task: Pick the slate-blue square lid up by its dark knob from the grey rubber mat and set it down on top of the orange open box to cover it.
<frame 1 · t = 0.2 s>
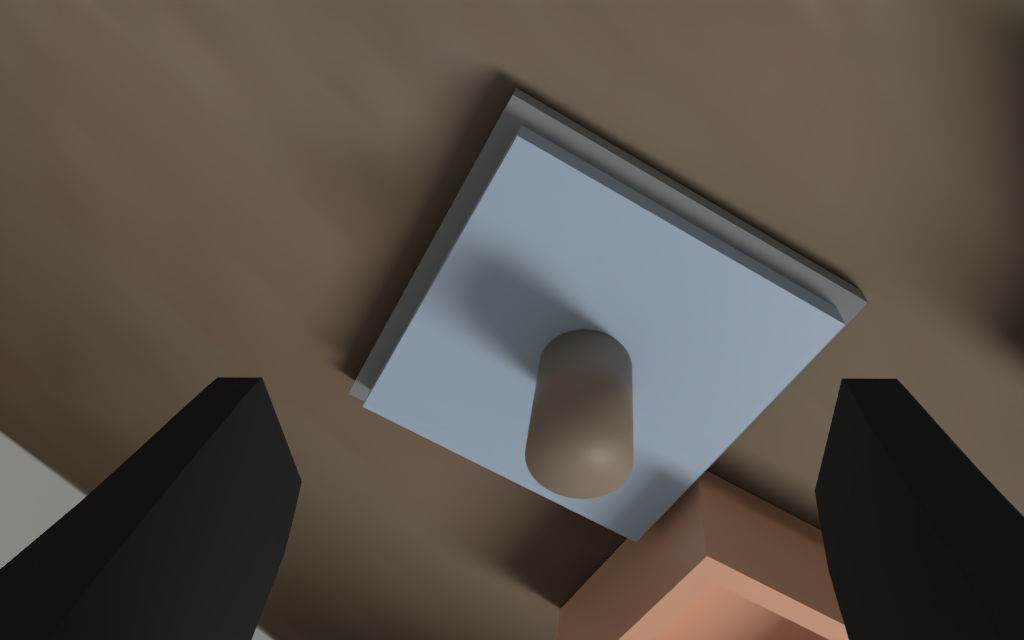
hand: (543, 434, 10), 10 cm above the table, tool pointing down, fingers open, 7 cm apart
orange open box: (725, 593, 26), on the table
lid: (586, 351, 21), point 1 cm above the table, touching mat
mat: (587, 339, 21), on the table
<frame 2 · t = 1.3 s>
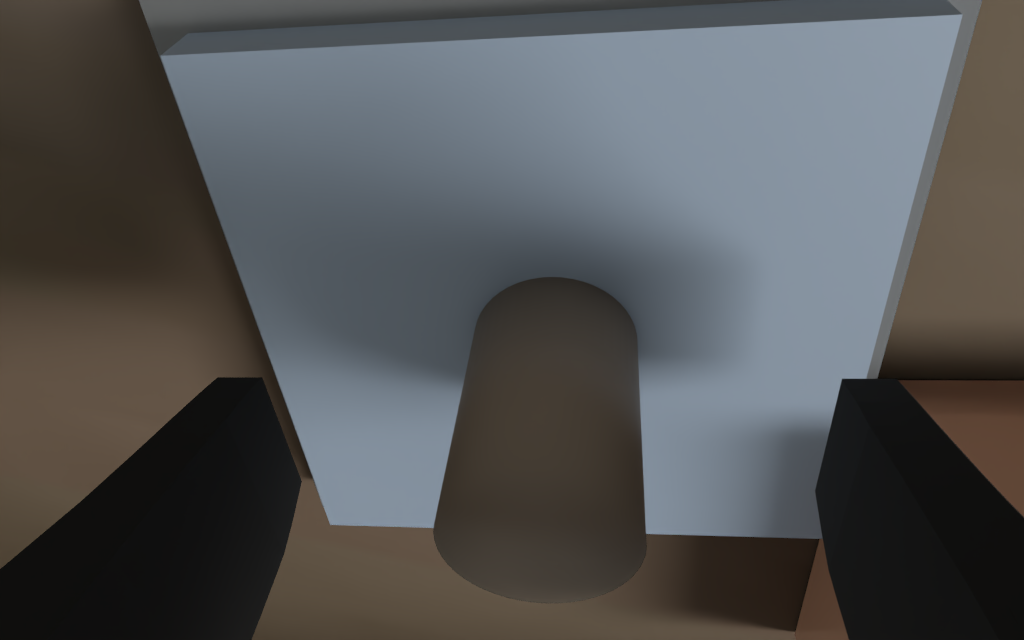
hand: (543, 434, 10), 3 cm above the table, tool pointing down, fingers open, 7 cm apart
lid: (557, 310, 12), point 1 cm above the table, touching mat
mat: (559, 287, 13), on the table
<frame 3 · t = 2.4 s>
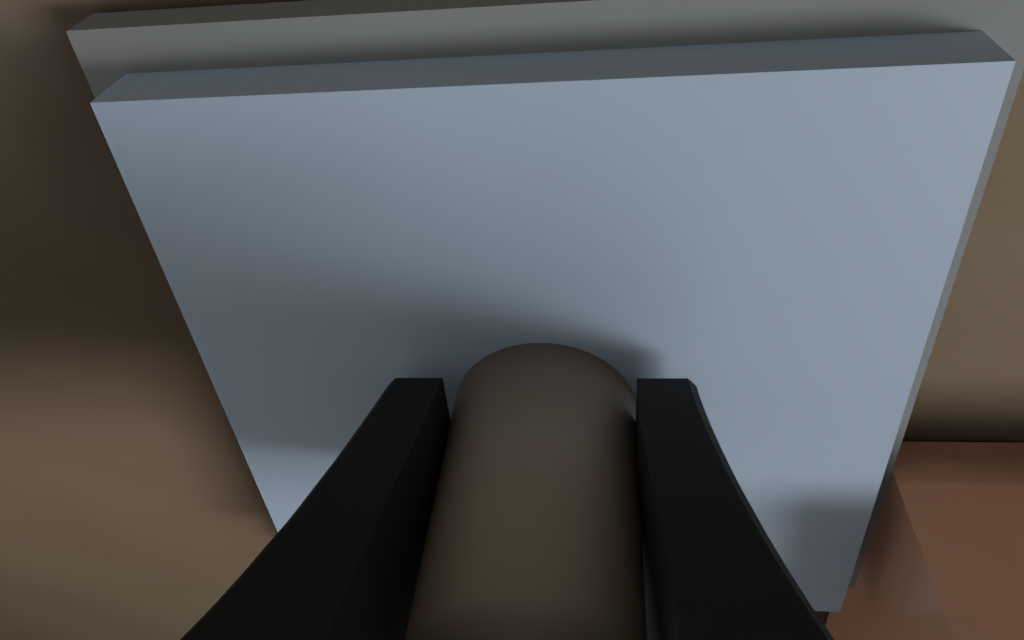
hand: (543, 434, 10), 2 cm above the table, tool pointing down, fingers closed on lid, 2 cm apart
lid: (548, 371, 11), point 1 cm above the table, touching gripper, mat
mat: (550, 343, 11), on the table
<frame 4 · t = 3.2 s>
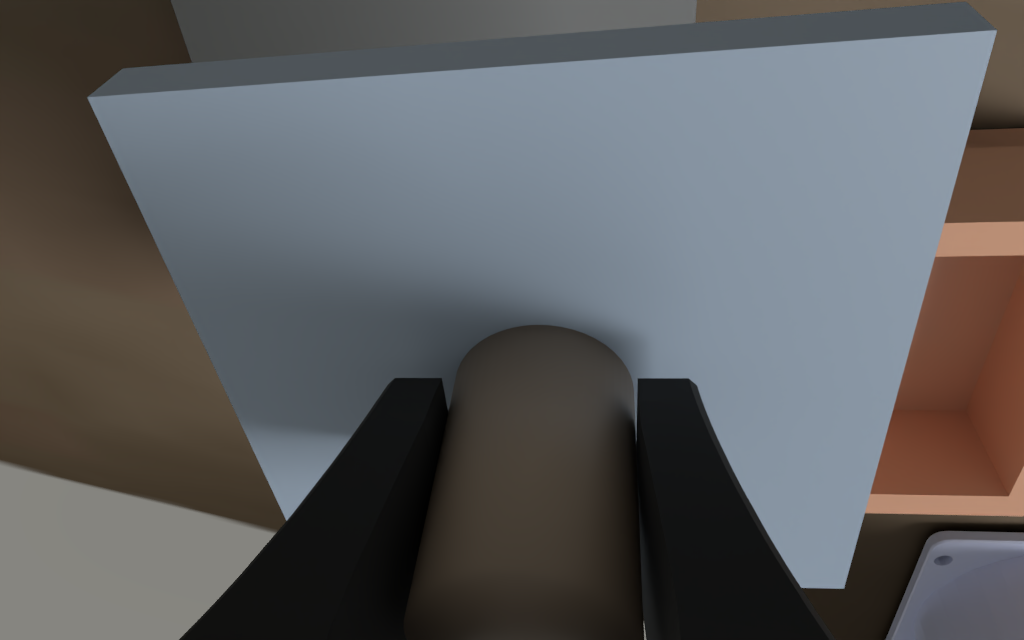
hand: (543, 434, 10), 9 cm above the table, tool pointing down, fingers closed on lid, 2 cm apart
orange open box: (845, 288, 19), on the table
lid: (547, 354, 11), point 7 cm above the table, touching gripper
mat: (440, 58, 16), on the table
when the fingers open (6 cm above the table, at t = 4.4 s): lid stays where it is, resting on orange open box.
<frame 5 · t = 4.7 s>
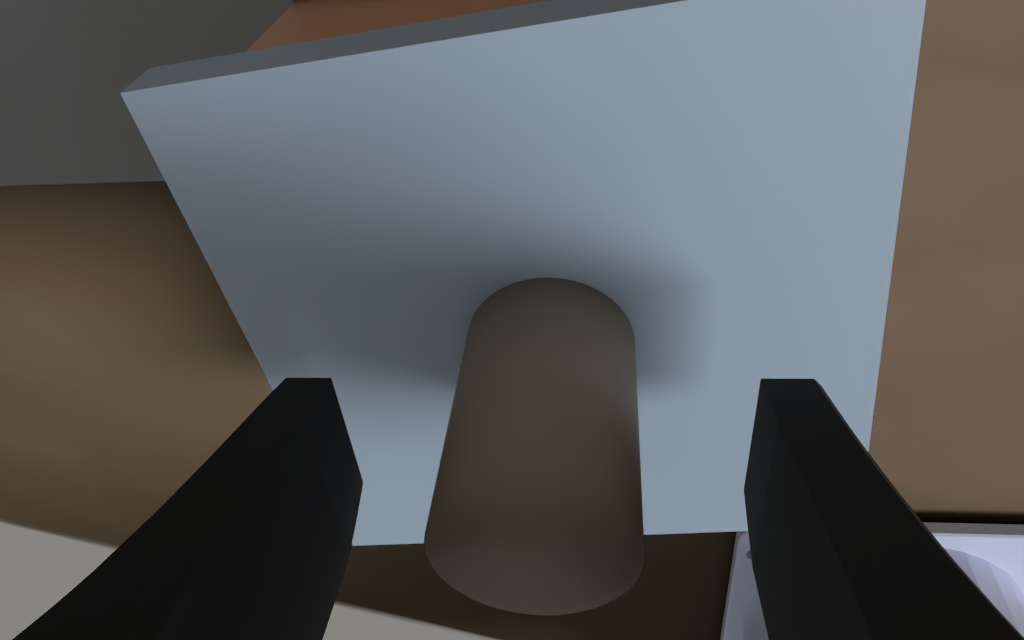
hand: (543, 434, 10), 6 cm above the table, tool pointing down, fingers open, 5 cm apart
orange open box: (562, 201, 15), on the table
lid: (553, 311, 12), point 3 cm above the table, touching orange open box
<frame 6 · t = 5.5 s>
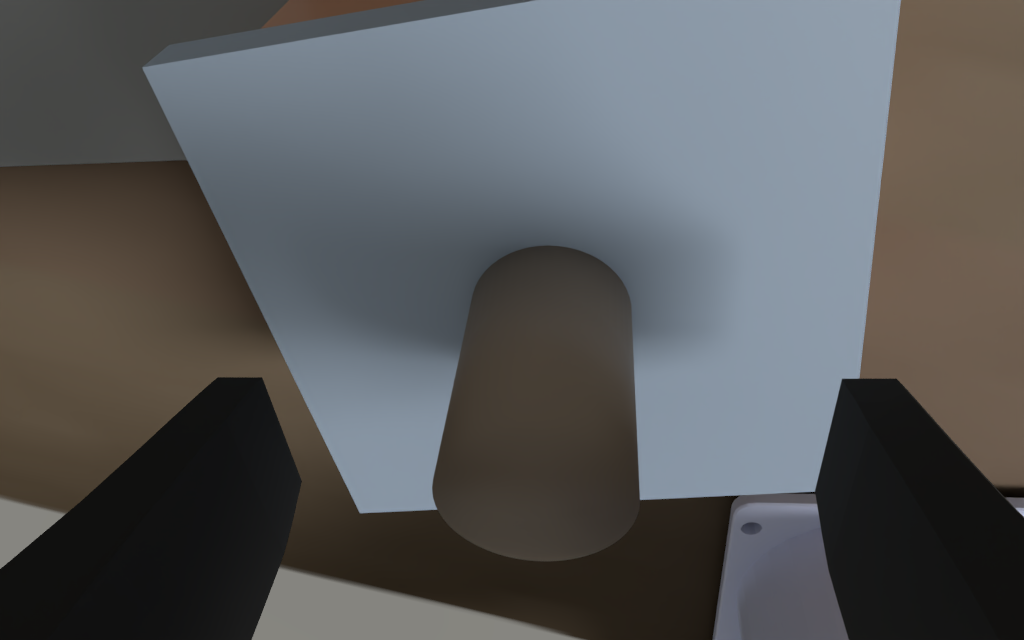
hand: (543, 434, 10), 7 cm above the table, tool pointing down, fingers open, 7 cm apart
orange open box: (562, 180, 15), on the table
lid: (553, 281, 12), point 3 cm above the table, touching orange open box
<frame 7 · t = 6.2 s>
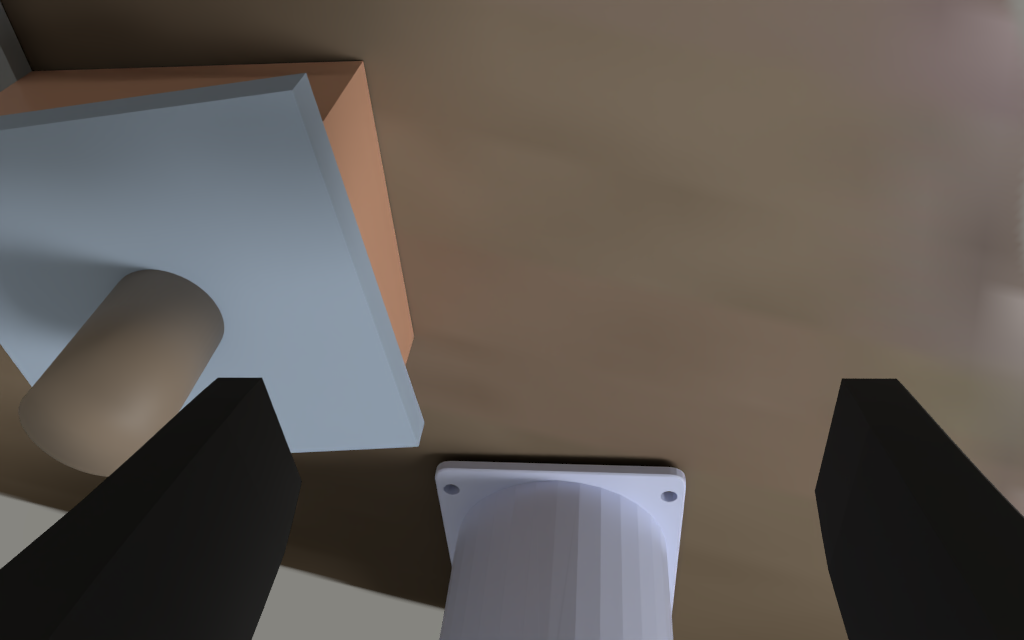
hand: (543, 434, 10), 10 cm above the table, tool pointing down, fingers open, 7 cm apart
orange open box: (241, 217, 20), on the table
lid: (184, 293, 18), point 3 cm above the table, touching orange open box
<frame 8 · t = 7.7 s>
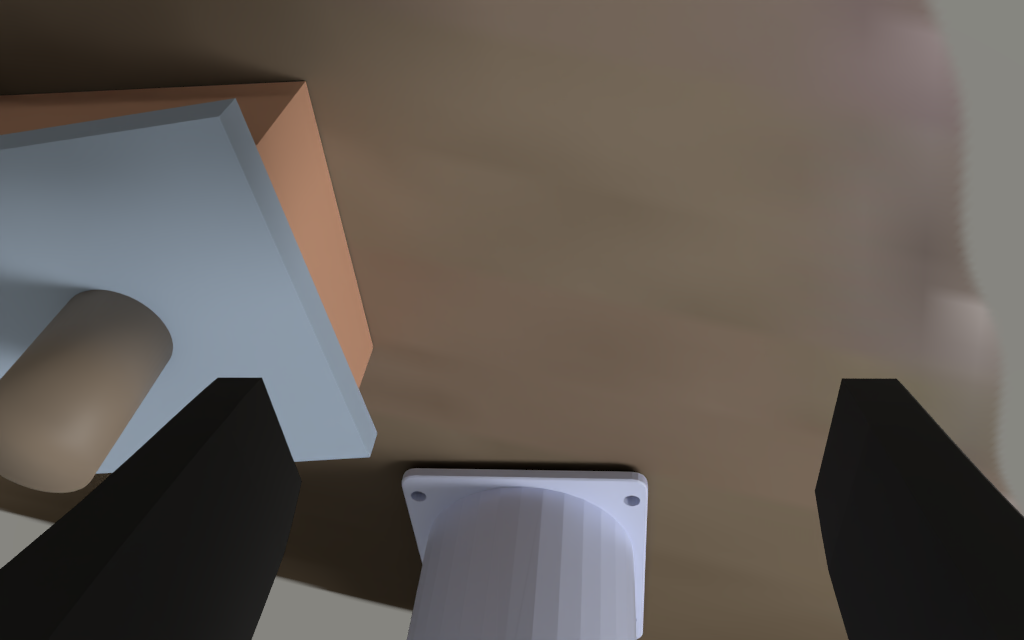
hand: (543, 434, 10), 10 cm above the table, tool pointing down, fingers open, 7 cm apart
orange open box: (198, 233, 21), on the table
lid: (135, 310, 18), point 3 cm above the table, touching orange open box
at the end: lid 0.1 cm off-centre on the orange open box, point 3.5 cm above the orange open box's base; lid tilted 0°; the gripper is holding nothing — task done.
